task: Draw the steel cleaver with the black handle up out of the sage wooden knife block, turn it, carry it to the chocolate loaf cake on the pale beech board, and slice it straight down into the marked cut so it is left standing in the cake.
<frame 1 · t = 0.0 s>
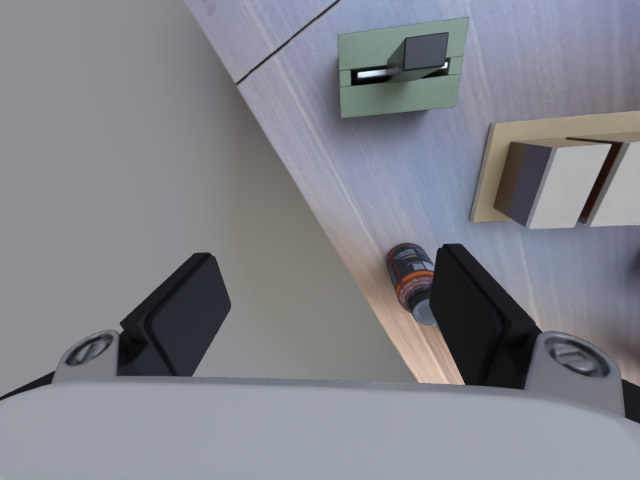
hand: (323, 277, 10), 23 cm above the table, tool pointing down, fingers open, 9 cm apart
knife block: (385, 82, 26), on the table
supplement bottle: (405, 258, 36), on the table
cake: (566, 170, 28), on the table
knife: (386, 81, 25), point 1 cm above the table, touching knife block
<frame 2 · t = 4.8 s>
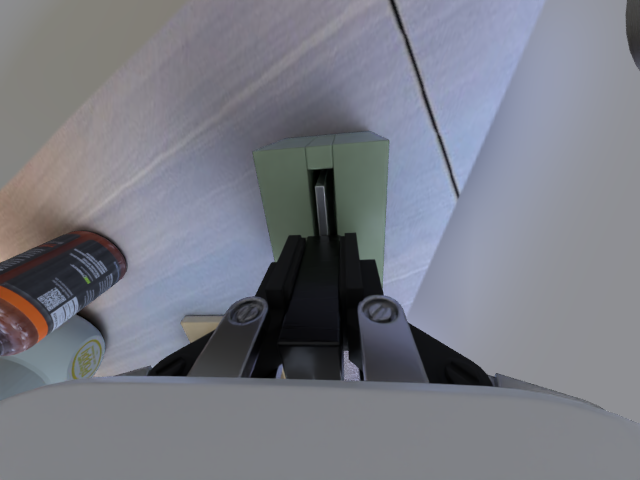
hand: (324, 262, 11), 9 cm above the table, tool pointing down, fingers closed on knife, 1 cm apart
air freshener: (77, 327, 29), on the table
knife block: (331, 203, 19), on the table
supplement bottle: (101, 254, 23), on the table
cake: (256, 373, 30), on the table
knife: (331, 207, 18), point 1 cm above the table, touching gripper, knife block
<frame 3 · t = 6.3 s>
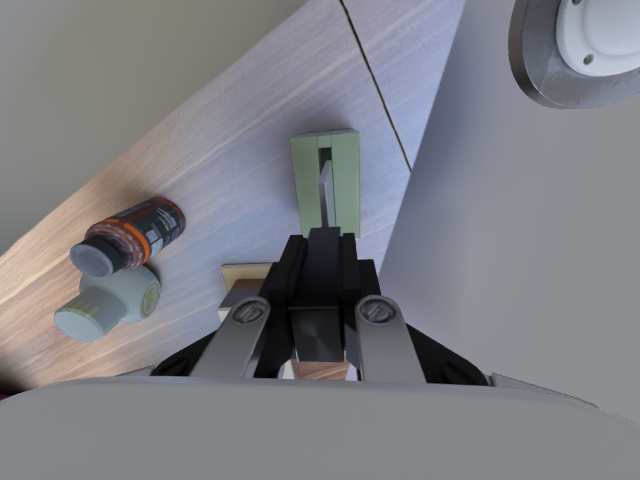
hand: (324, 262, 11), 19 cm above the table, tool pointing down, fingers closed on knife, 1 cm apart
air freshener: (138, 277, 38), on the table
knife block: (329, 176, 28), on the table
supplement bottle: (166, 217, 33), on the table
cake: (273, 313, 39), on the table
knife: (331, 205, 19), point 11 cm above the table, touching gripper
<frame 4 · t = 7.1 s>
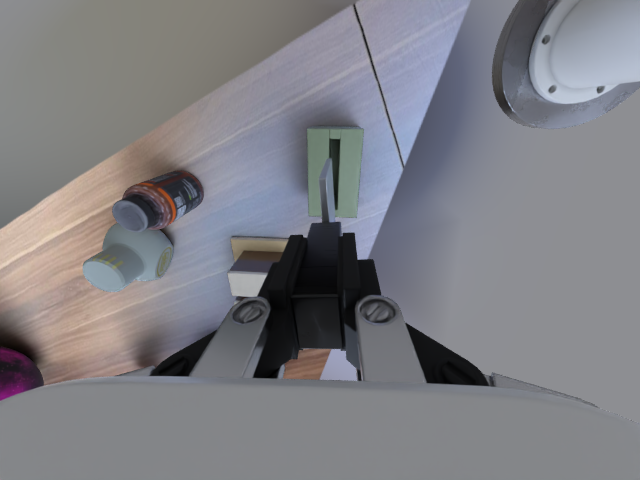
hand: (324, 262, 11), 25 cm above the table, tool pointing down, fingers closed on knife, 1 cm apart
purple galaxy ball: (20, 357, 63), on the table
air freshener: (153, 242, 42), on the table
knife block: (334, 165, 33), on the table
supplement bottle: (187, 188, 37), on the table
cake: (272, 285, 44), on the table
knife: (331, 203, 19), point 16 cm above the table, touching gripper
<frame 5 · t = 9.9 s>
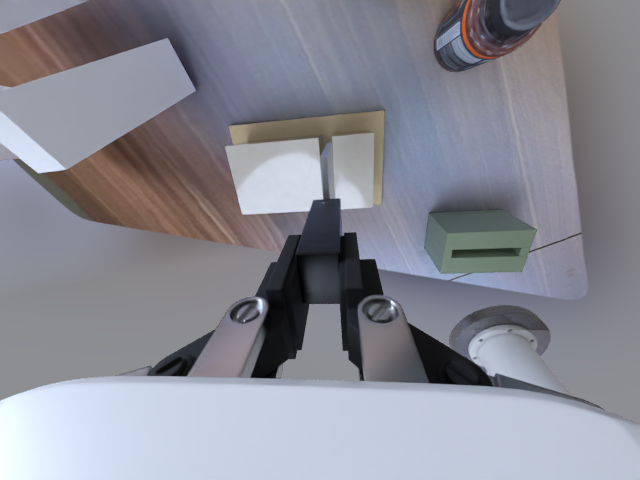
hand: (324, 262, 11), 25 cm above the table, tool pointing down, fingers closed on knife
knife block: (460, 229, 36), on the table
supplement bottle: (459, 40, 26), on the table
pile of blocks: (67, 17, 28), on the table
cake: (309, 165, 33), on the table
knife: (332, 186, 20), point 14 cm above the table, touching gripper
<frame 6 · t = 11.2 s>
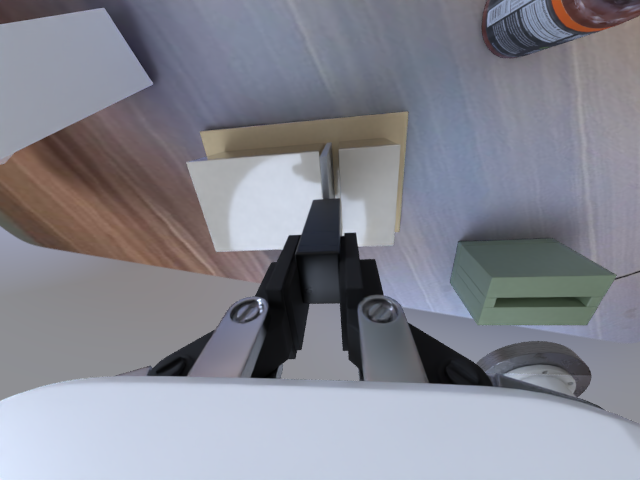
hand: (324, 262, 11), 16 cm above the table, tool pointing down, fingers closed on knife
knife block: (497, 261, 28), on the table
supplement bottle: (517, 13, 18), on the table
cake: (307, 182, 26), on the table
knife: (331, 186, 20), point 5 cm above the table, touching gripper
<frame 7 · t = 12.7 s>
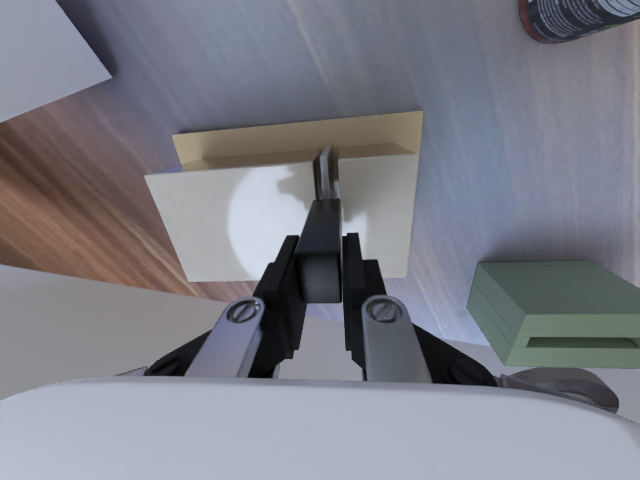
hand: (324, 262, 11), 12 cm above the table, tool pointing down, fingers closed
knife block: (523, 285, 24), on the table
cake: (301, 195, 22), on the table
knife: (332, 187, 20), point 1 cm above the table, touching cake
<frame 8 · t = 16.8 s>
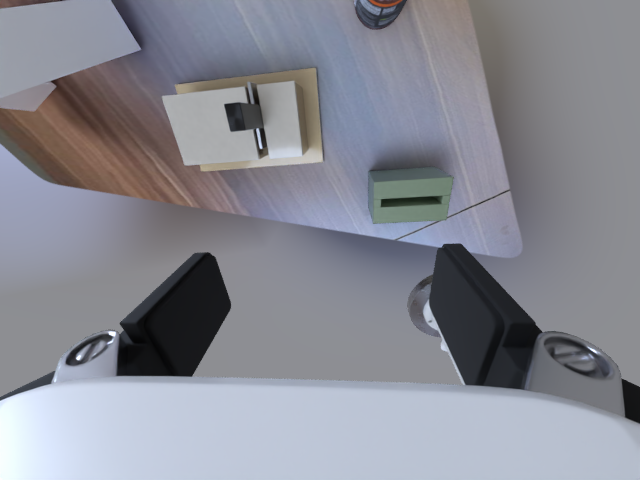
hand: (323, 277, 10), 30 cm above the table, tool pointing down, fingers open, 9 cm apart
knife block: (399, 187, 38), on the table
cake: (254, 125, 35), on the table
knife: (270, 117, 34), point 1 cm above the table, touching cake
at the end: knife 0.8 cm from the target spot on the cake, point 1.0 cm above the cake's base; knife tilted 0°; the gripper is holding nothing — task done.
